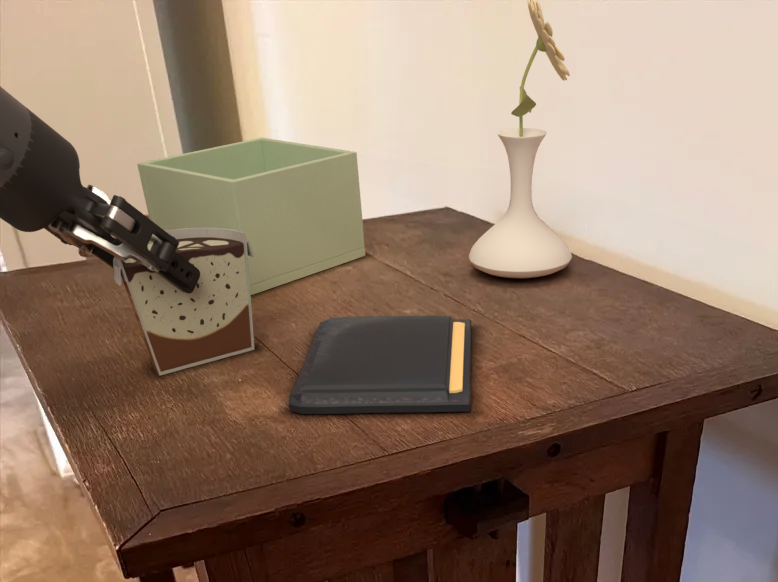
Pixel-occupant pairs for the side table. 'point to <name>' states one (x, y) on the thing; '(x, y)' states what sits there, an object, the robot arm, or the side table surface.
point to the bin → (265, 203)
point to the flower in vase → (524, 190)
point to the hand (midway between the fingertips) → (162, 274)
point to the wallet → (386, 366)
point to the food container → (194, 301)
